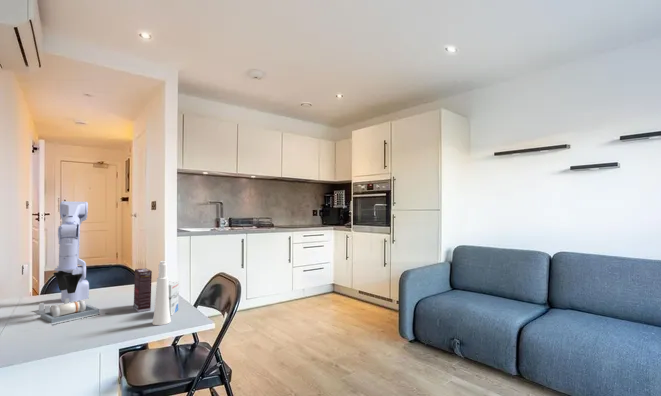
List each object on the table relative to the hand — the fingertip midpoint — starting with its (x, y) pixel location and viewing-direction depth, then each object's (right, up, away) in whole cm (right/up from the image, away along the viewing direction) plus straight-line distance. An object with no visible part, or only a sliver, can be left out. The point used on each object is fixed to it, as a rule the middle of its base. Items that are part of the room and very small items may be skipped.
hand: (67, 291), depth 132 cm
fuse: (+2, -8, -1) cm, 8 cm away
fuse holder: (-8, -9, +6) cm, 14 cm away
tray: (+2, -9, -1) cm, 10 cm away
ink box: (+36, -10, +4) cm, 38 cm away
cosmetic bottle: (+39, -9, -7) cm, 41 cm away
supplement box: (+23, -10, +10) cm, 27 cm away
